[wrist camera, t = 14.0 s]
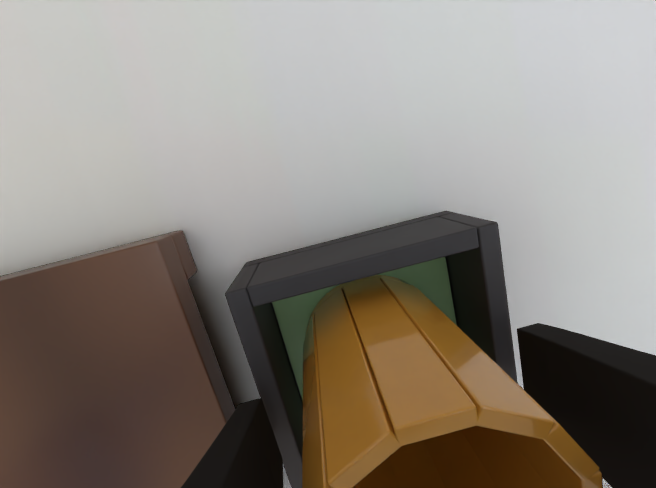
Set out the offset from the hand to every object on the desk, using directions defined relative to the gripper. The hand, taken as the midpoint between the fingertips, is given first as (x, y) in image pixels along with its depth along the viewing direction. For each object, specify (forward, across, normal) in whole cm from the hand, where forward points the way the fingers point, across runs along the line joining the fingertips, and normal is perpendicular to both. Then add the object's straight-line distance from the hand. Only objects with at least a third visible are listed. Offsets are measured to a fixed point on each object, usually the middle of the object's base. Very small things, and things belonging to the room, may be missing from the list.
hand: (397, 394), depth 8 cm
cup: (+3, 0, 0) cm, 3 cm away
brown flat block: (+4, +10, 0) cm, 11 cm away
